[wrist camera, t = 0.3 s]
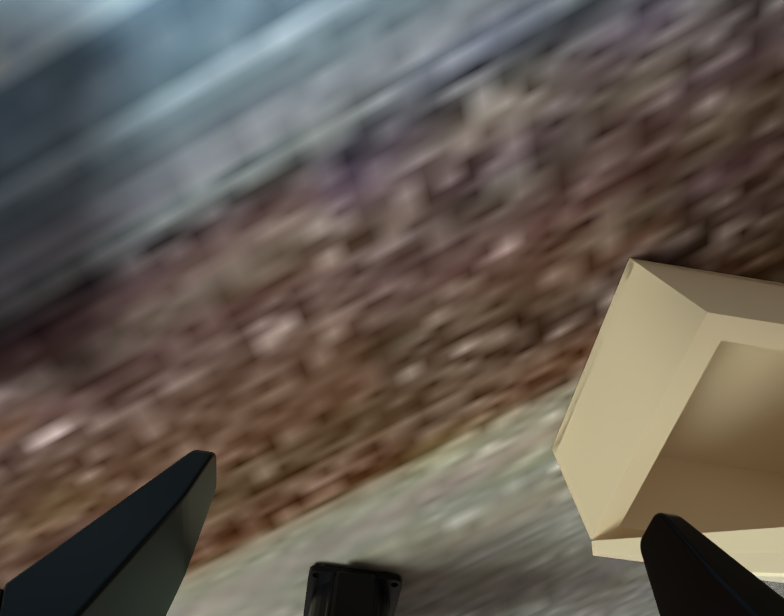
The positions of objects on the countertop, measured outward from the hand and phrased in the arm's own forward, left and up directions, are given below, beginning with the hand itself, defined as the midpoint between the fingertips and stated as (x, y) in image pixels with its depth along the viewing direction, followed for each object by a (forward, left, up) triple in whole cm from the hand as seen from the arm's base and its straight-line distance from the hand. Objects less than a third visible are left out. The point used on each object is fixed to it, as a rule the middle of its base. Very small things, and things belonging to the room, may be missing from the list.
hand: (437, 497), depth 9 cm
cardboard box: (-4, -18, -14) cm, 23 cm away
